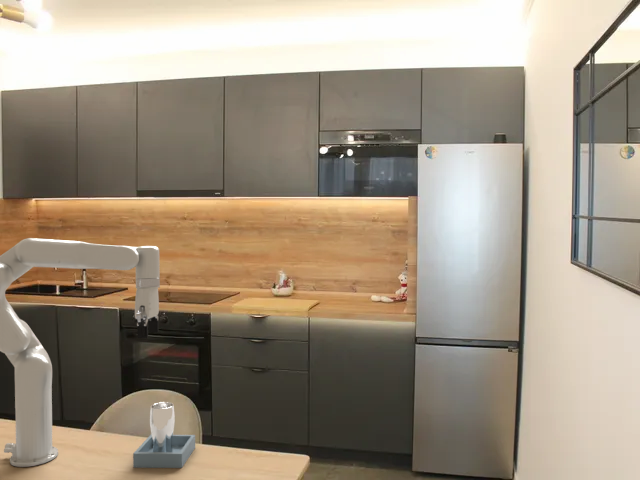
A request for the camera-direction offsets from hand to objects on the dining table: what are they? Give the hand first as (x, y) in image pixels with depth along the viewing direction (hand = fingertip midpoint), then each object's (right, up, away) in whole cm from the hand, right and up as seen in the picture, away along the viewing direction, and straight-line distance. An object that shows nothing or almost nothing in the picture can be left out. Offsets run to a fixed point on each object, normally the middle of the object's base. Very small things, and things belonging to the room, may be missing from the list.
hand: (148, 335), depth 171 cm
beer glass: (+10, -33, -18) cm, 39 cm away
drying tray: (+11, -33, -17) cm, 39 cm away
